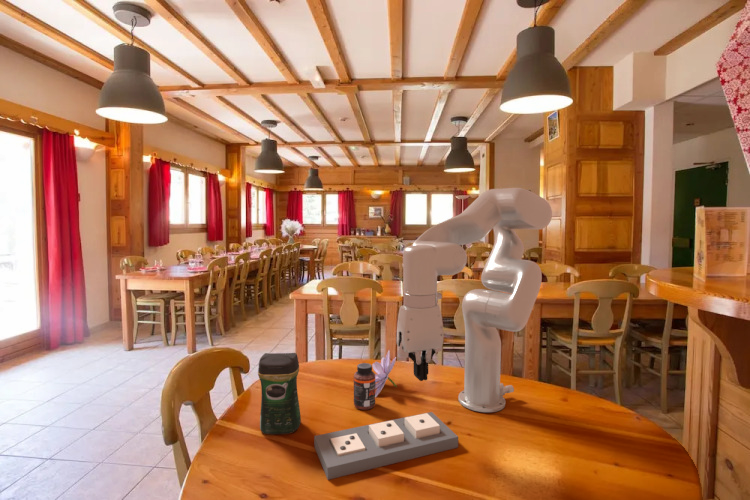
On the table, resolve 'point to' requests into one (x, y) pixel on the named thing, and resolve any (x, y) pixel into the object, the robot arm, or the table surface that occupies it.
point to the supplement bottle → (364, 387)
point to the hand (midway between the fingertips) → (421, 378)
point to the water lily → (383, 372)
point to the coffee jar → (279, 393)
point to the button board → (380, 449)
